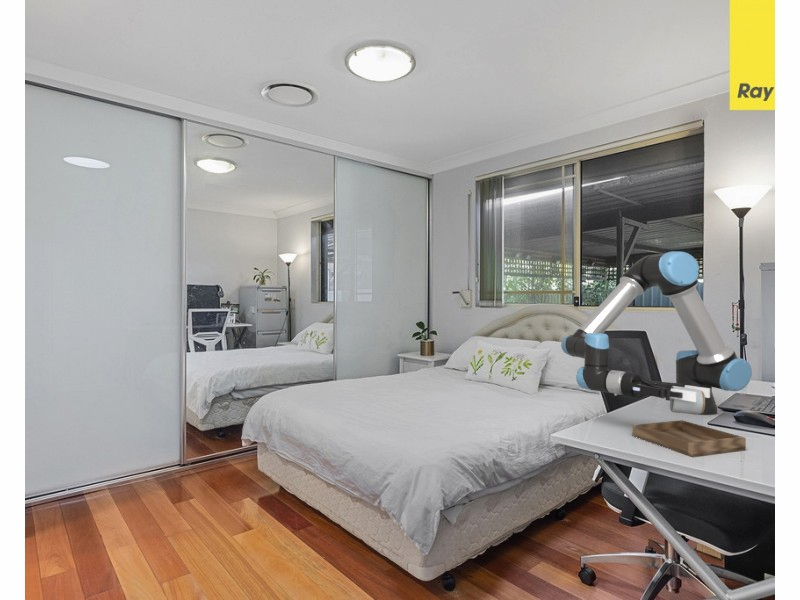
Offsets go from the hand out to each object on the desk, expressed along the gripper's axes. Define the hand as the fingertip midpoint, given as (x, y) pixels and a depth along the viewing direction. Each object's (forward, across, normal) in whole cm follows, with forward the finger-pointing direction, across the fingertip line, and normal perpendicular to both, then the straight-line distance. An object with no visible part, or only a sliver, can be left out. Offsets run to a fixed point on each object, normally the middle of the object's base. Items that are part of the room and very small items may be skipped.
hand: (703, 395), depth 133 cm
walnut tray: (-4, 0, -15) cm, 15 cm away
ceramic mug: (-5, -1, -6) cm, 8 cm away
